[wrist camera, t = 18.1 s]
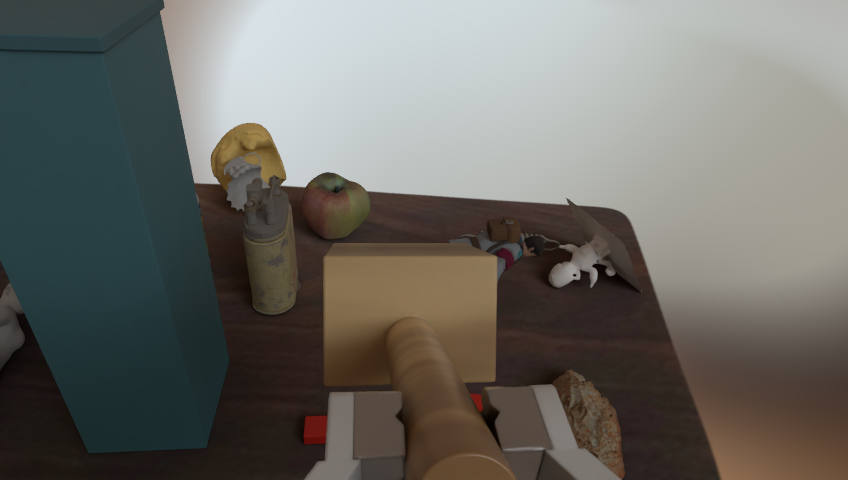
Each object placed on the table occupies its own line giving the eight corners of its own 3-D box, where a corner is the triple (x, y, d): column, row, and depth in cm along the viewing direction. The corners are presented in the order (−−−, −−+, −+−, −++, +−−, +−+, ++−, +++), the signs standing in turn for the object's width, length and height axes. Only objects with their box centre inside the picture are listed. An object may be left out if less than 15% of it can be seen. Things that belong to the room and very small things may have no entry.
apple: (291, 216, 58) (286, 164, 54) (368, 214, 59) (368, 163, 55) (287, 249, 53) (281, 194, 49) (372, 246, 54) (372, 192, 51)
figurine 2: (643, 292, 50) (589, 334, 50) (588, 246, 56) (541, 283, 56) (624, 242, 45) (565, 289, 45) (566, 196, 50) (514, 238, 50)
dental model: (289, 179, 63) (299, 212, 58) (229, 200, 62) (233, 235, 57) (263, 117, 57) (271, 148, 53) (196, 139, 57) (198, 172, 52)
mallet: (644, 586, 9) (654, 317, 9) (274, 611, 9) (272, 324, 8) (465, 340, 26) (466, 243, 25) (333, 343, 25) (332, 243, 25)
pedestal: (83, 457, 34) (-117, 30, 20) (128, 361, 40) (0, -11, 27) (209, 451, 35) (100, 36, 21) (233, 358, 41) (162, -6, 27)
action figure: (379, 342, 45) (561, 311, 45) (363, 269, 42) (557, 236, 42) (379, 287, 54) (533, 261, 54) (366, 222, 51) (528, 195, 51)
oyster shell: (600, 398, 42) (540, 371, 42) (628, 367, 40) (564, 339, 40) (609, 528, 33) (533, 495, 33) (644, 498, 31) (563, 463, 31)
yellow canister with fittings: (260, 264, 51) (246, 165, 45) (303, 263, 51) (294, 165, 46) (250, 317, 45) (232, 211, 39) (298, 315, 45) (287, 209, 40)
